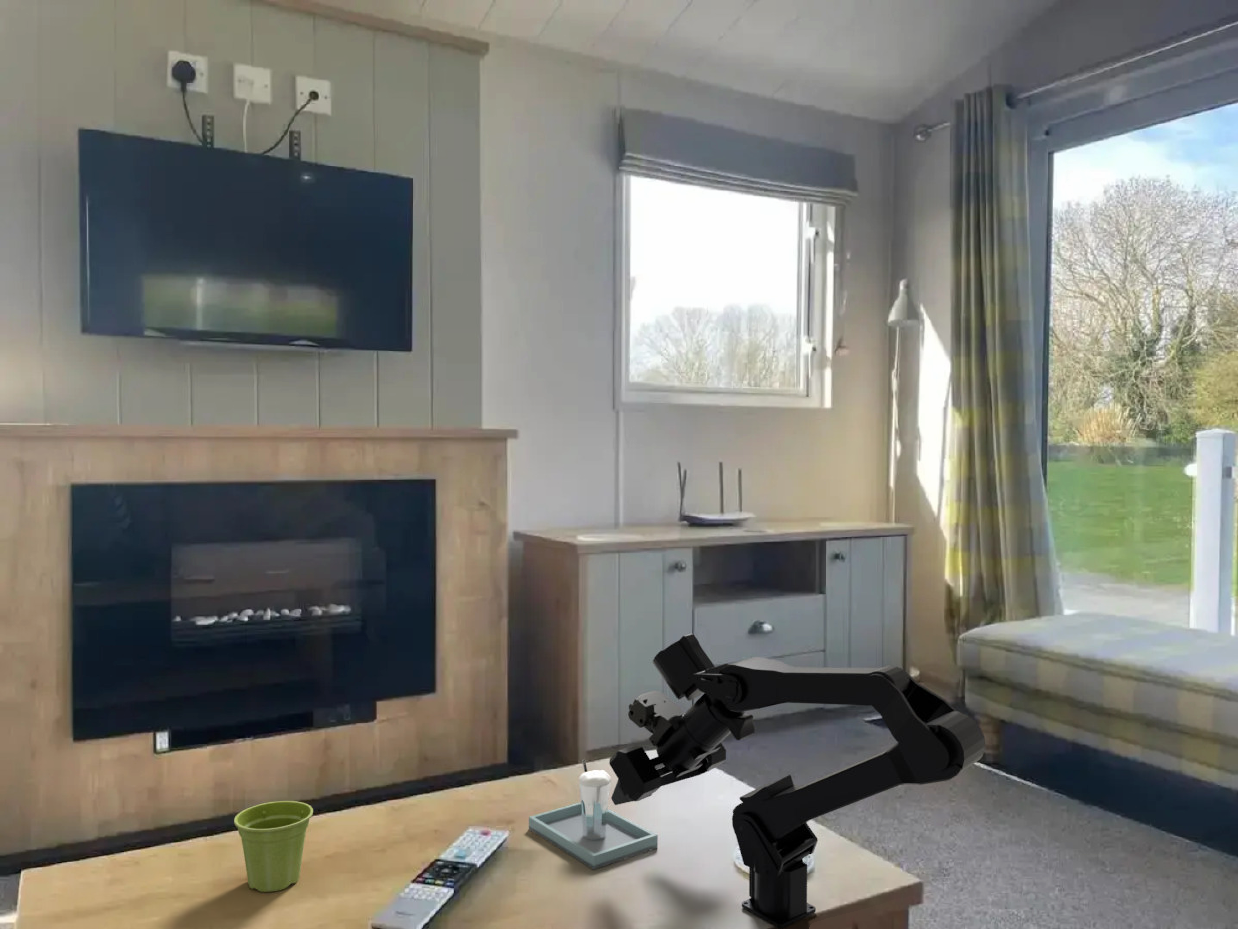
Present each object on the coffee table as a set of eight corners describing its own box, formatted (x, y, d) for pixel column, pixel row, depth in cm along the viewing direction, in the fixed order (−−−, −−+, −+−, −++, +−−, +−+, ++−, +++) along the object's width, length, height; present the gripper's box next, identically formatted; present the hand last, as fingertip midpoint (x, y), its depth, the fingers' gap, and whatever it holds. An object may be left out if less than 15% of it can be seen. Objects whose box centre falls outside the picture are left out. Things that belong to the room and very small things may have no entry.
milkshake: (596, 824, 134) (596, 756, 134) (616, 837, 130) (617, 767, 130) (569, 831, 132) (570, 762, 132) (589, 845, 127) (589, 773, 127)
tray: (657, 847, 128) (657, 835, 128) (593, 869, 121) (593, 856, 121) (589, 811, 140) (589, 799, 140) (528, 829, 134) (528, 817, 134)
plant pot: (235, 871, 120) (235, 805, 120) (311, 860, 123) (311, 796, 123) (232, 905, 111) (232, 834, 111) (314, 892, 115) (314, 823, 114)
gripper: (709, 664, 129) (648, 727, 136) (621, 689, 115) (558, 757, 122) (756, 732, 124) (690, 793, 131) (670, 766, 110) (601, 833, 117)
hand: (636, 792), depth 125 cm, fingers open, 9 cm apart
